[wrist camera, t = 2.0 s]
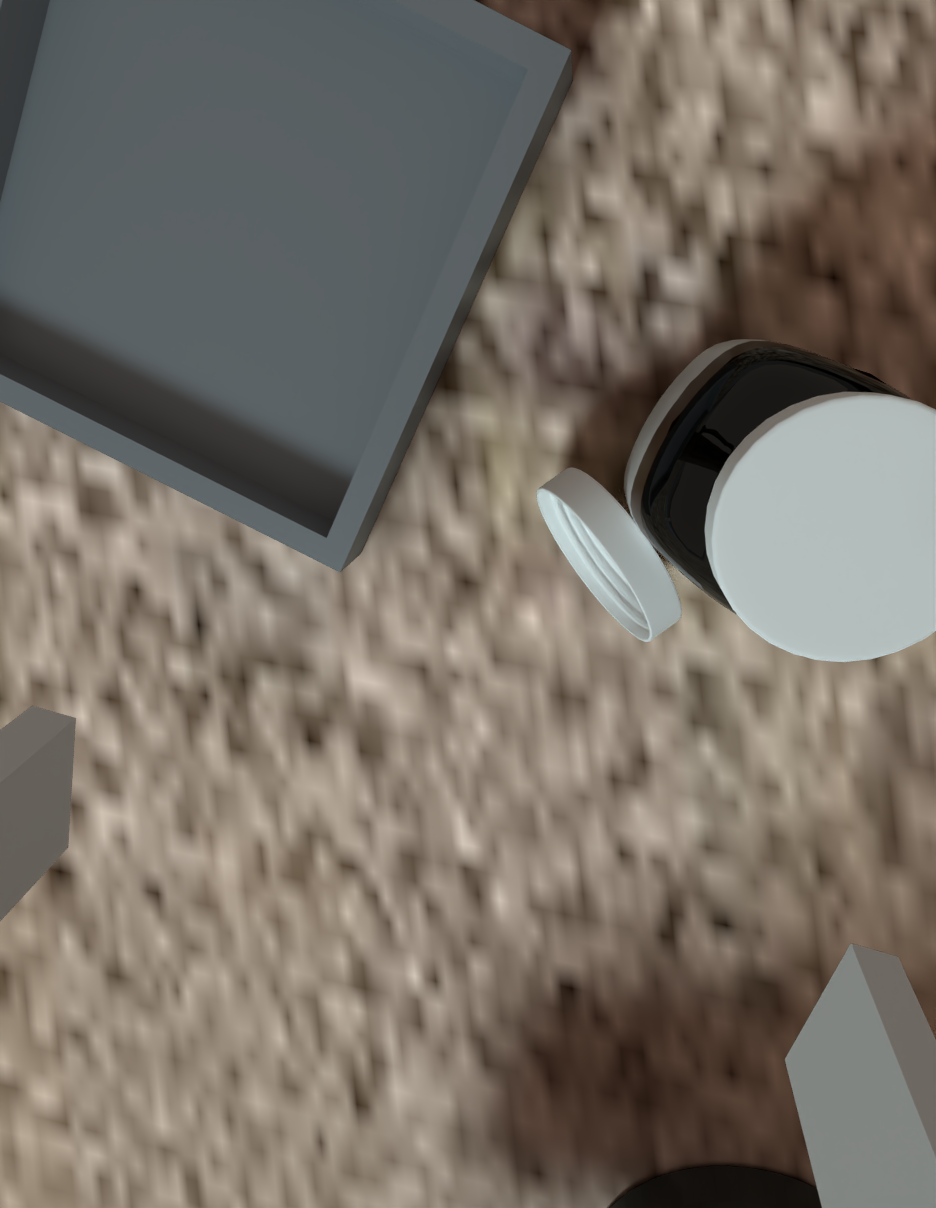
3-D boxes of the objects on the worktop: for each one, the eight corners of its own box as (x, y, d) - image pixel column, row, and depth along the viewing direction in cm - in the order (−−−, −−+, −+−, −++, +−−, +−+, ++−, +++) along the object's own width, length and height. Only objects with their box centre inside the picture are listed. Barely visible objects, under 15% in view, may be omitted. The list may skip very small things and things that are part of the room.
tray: (572, 80, 28) (571, 50, 26) (360, 554, 34) (340, 572, 32) (79, -173, 28) (22, -232, 25) (-47, 349, 34) (-104, 349, 31)
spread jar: (935, 451, 30) (1137, 506, 19) (752, 688, 34) (834, 850, 23) (659, 282, 30) (704, 240, 19) (503, 541, 34) (464, 633, 22)
